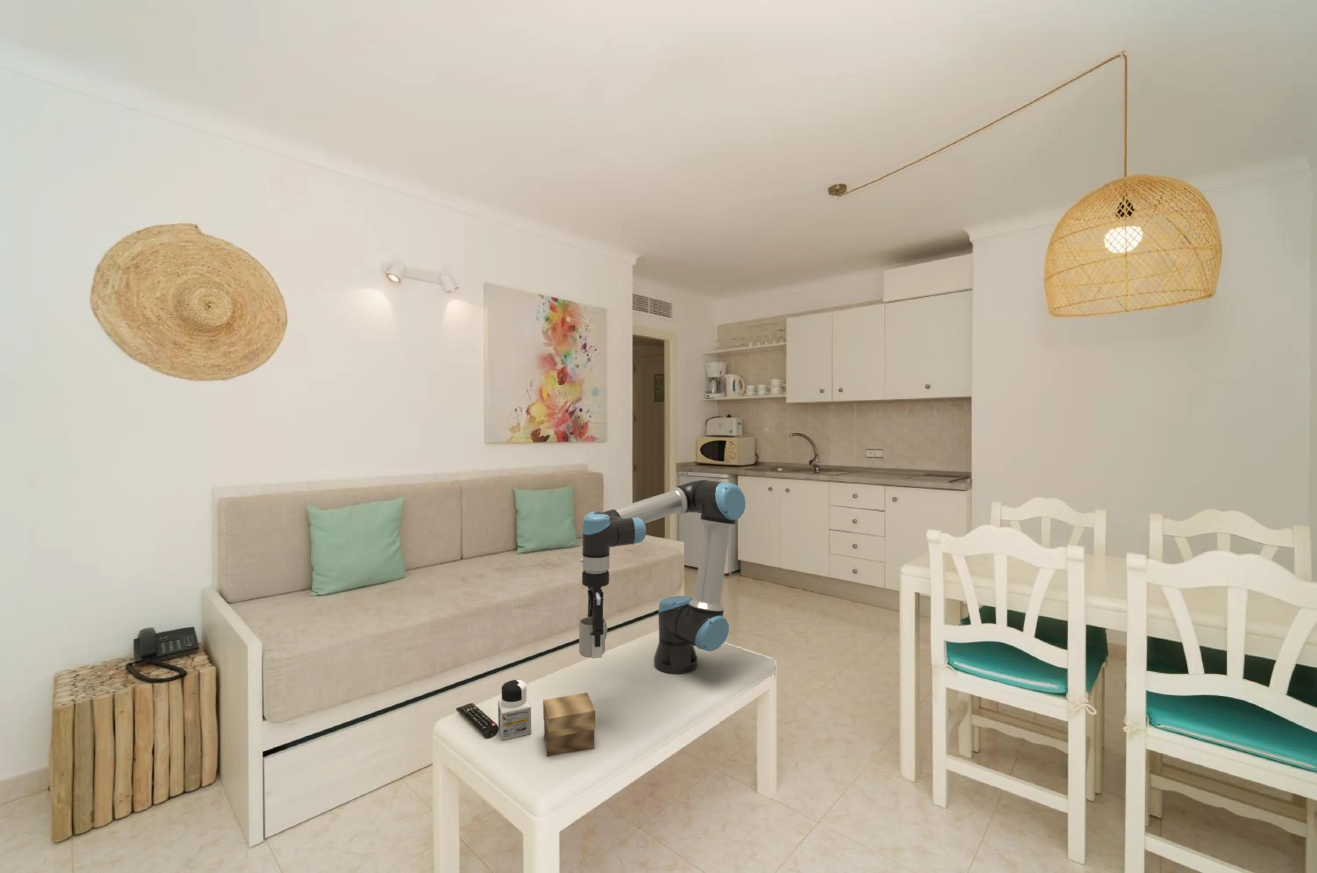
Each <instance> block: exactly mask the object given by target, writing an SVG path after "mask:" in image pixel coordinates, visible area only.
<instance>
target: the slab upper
mask: <svg viewBox="0 0 1317 873" xmlns="http://www.w3.org/2000/svg"><path fill="white" fill-rule="evenodd" d="M542 702H543V704H542V709H543V710H542V712H543V713H542V714H543V723H544V722H545V726H546V730H547V734H548V738H554V737H559V736H564V735H569V734H574V733H580V732H585V731H590V730H594V731H595V730H596V709H595V707H594V705H593V702H592V700H591V698H590V696H589V693H588V692H582V693H578V694H573V695H572V694H571V695H565V696H559V697H555V698H554V697H553V698H547V699H543V701H542Z"/></svg>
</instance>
